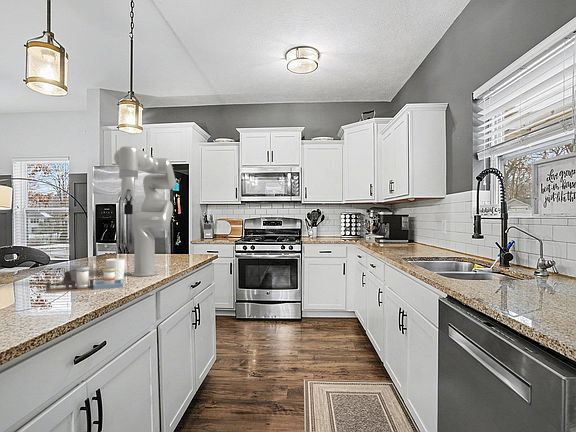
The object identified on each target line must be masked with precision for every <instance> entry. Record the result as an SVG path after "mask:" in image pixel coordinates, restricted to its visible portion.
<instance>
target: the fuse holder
mask: <svg viewBox="0 0 576 432" xmlns="http://www.w3.org/2000/svg"><path fill="white" fill-rule="evenodd" d="M89 279H90V278H89ZM64 285H65V286H63V287H62V286H60V287H51V281H47V282H46V283H45V292H44V294H54V293H66V292H67V293H68V292H79V291H80V292H81V291H91V290H92V291H93V289H94V279H92V278H91V279H90V280H89V288H86V289H76V284H75V280H72V285H71V286H70V285H69V281H66V282H65V284H64Z"/></svg>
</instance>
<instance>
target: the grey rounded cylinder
mask: <svg viewBox="0 0 576 432" xmlns="http://www.w3.org/2000/svg"><path fill="white" fill-rule="evenodd" d="M75 270H76V271H77V284H75V286H76V289H86V288H89V285H90V280H89V279H90V278H89V275H90V274H89V273H90V266H77V267H76V269H75Z"/></svg>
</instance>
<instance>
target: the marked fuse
mask: <svg viewBox="0 0 576 432" xmlns="http://www.w3.org/2000/svg"><path fill="white" fill-rule="evenodd" d="M102 272H103V273H102V274H103V275H102V276H103V278H102V281H103V285H104V284H115V268H113V267H109V268H106V267H103V268H102Z"/></svg>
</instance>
